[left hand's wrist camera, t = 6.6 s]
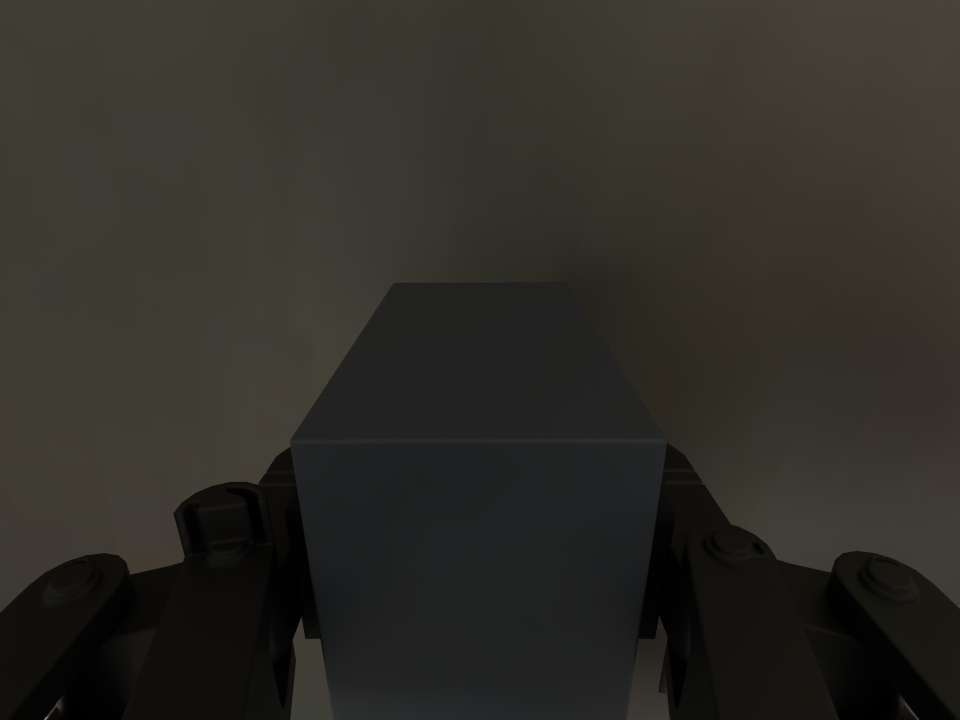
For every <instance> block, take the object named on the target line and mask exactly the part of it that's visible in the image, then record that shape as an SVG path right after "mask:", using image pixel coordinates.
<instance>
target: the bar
mask: <svg viewBox="0 0 960 720" xmlns="http://www.w3.org/2000/svg"><path fill="white" fill-rule="evenodd" d="M290 446H291V452H292V459H293V465H294V472H295V478H296V484H297V491H298V497H299V504H300V510H301V516H302V523H303V529H304V536H305V542H306V548H307V555H308V561H309V568H310V574H311V581H312V587H313V593H314V600H315V606H316V613H317V619H318V625H319V632H320V638H321V645H322V651H323V657H324V664H325V670H326V677H327V683H328V690H329V696H330V702H331V709H332V715H333V720H626V718H627V711H628V704H629V697H630V691H631V684H632V677H633V670H634V664H635V657H636V650H637V643H638V637H639V630H640V623H641V616H642V609H643V603H644V596H645V589H646V582H647V576H648V569H649V562H650V555H651V549H652V542H653V535H654V528H655V522H656V515H657V508H658V501H659V494H660V488H661V481H662V474H663V467H664V461H665V454H666V447H667V439H666V437H665V436H664V434H663V433H662V431H661V430H660V428H659V427H658V425H657V423H656V422H655V420H654V419H653V417H652V416H651V414H650V413H649V411H648V410H647V408H646V406H645V405H644V403H643V402H642V400H641V399H640V397H639V396H638V394H637V393H636V391H635V389H634V388H633V386H632V385H631V383H630V382H629V380H628V379H627V377H626V375H625V374H624V372H623V371H622V369H621V368H620V366H619V365H618V363H617V362H616V360H615V358H614V357H613V355H612V354H611V352H610V351H609V349H608V348H607V346H606V345H605V343H604V341H603V340H602V338H601V337H600V335H599V334H598V332H597V331H596V329H595V327H594V326H593V324H592V323H591V321H590V320H589V318H588V317H587V315H586V314H585V312H584V310H583V309H582V307H581V306H580V304H579V303H578V301H577V300H576V298H575V297H574V295H573V293H572V292H571V290H570V289H569V287H568V286H567V284H566V283H394V284H393V285H392V287H391V288H390V290H389V291H388V293H387V294H386V296H385V297H384V299H383V300H382V302H381V303H380V305H379V306H378V308H377V309H376V311H375V312H374V314H373V315H372V317H371V319H370V320H369V322H368V323H367V325H366V326H365V328H364V329H363V331H362V332H361V334H360V335H359V337H358V338H357V340H356V341H355V343H354V344H353V346H352V347H351V349H350V350H349V352H348V353H347V355H346V356H345V358H344V359H343V361H342V363H341V364H340V366H339V367H338V369H337V370H336V372H335V373H334V375H333V376H332V378H331V379H330V381H329V382H328V384H327V385H326V387H325V388H324V390H323V391H322V393H321V394H320V396H319V397H318V399H317V400H316V402H315V403H314V405H313V407H312V408H311V410H310V411H309V413H308V414H307V416H306V417H305V419H304V420H303V422H302V423H301V425H300V426H299V428H298V429H297V431H296V432H295V434H294V435H293V437H292V438H291V441H290Z"/></svg>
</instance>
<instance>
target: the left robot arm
mask: <svg viewBox="0 0 960 720" xmlns="http://www.w3.org/2000/svg"><path fill="white" fill-rule="evenodd" d="M174 517H175V521H176V524H177V528H178V532H179V536H180V540H181V543H182V547H183V551H184V555H185V558H184V561H183V562H181V563H178V564H175V565H171V566H167V567H163V568H158V569H154V570H149V571H145V572H140V573H136V574H132V575H130V573H129V570H128V566H127V563H126V562H125V561H124V560H123V559H122V558H121V557H119V556H118V555H112V554H106V553H102V554H94V555H86V556H83V557H80V558H77V559H73V560H70V561H67V562H65V563H63V564H61V565H59V566H57V567H55V568H53V569H51V570H49V571H47V572H46V573H44V574H43V575H42V576H40V577H39V578H38V579H36V580H35V581H34V582H33V583H31V584H30V585H29V586H28V587H27V588H26V589H25V590H24V591H22V592H21V593H20V594H19V595H18V596H17V597H16V598H15V599H14V600H13V601H12V602H11V603H10V604H9V605H8V606H7V607H6V608H5V609H4V610H3V611H2V612H1V613H0V720H44V719H45V718H46V716H47V715H48V714H49V712H50V711H51V710H52V708H53V707H54V706H55V705H57V707H56V709H55V710H54V711H53V712H52V714H51V715H50V716H49V718H47V719H46V720H290V716H291V706H292V696H293V685H294V675H295V664H296V658H295V651H294V645H293V637H294V635H295V632H296V629H297V627H298V624H299V622H300V619H301V616H302V622H303V628H304V633H305V639H321V638H320V632H319V625H318V619H317V613H316V606H315V600H314V593H313V587H312V581H311V574H310V568H309V561H308V555H307V548H306V542H305V536H304V529H303V523H302V516H301V510H300V504H299V497H298V491H297V484H296V478H295V472H294V465H293V459H292V452H291V447H289V448H288V449H286V450H285V451H284V452H282V453H281V454H279V455H278V456H276V458H275V459H274V461H273V462H272V464H271V465H270V467H269V468H268V470H267V474H264V476H263V477H262V479H261V480H260V482H259V485H256V484H252V483H248V482H228V483H224V484H219V485H215V486H211V487H209V488H206V489H204V490H202V491H199V492H197V493H195V494H194V495H192V496H191V497H189V498H188V499H186V500H185V501H184V502H182V503H181V504H180V506H179V507H178V508H177V510H176V511H175V512H174ZM659 615H660V618H661V621H662V623H663V626H664V628H665V631H666V634H667V636H668V640H667V645H666V651H665V657H664V662H663V668H662V673H661V679H660V685H659V692H661V693H665V692H666V687H667V694H668V705H669V715H670V720H916V718H915V717H914V716H913V715H912V714H911V713H910V711H909V710H908V709H907V708H906V706H905V705H904V704H905V702H906V703H907V704H908V705H909V707H910V708H911V709H912V711H913V712H914V713H915V714H916V716H917V717H918V718H919V720H960V609H959V608H958V607H957V606H956V605H955V604H954V603H953V602H952V601H951V600H950V599H949V598H948V597H947V596H946V595H945V594H943V593H942V592H941V591H940V590H939V589H938V588H937V587H936V586H935V585H934V584H933V583H932V582H930V581H929V580H928V579H927V578H925V577H924V576H923V575H921V574H920V573H919V572H917V571H916V570H914V569H912V568H910V567H908V566H907V565H905V564H903V563H901V562H899V561H897V560H894V559H892V558H889V557H885V556H882V555H879V554H876V553H869V552H861V551H854V552H848V553H843V554H842V555H840V556H839V557H838V558H837V559H836V560H835V562H834V565H833V568H832V571H831V573H830V572H825V571H821V570H816V569H812V568H807V567H803V566H798V565H794V564H790V563H787V562H783V561H780V560H777V559H776V557H775V555H774V554H773V552H772V551H771V549H770V548H769V546H768V545H767V544H766V543H765V542H763V541H762V540H761V539H760V538H758V537H757V536H756V535H755V534H753V533H750V532H748V531H746V530H744V529H742V528H740V527H737V526H733V525H731V524H730V522H729V521H728V519H727V518H726V517H725V515H724V514H723V512H722V511H721V509H720V508H719V506H718V505H717V503H716V502H715V500H714V499H713V497H712V496H711V494H710V493H709V491H708V490H707V488H706V487H705V485H702V481H701V479H700V478H699V476H698V475H697V473H696V472H694V469H693V467H692V466H691V464H690V463H689V461H688V460H687V458H686V457H685V455H684V454H682V453H681V452H679V451H678V450H677V449H675V448H674V447H672V446H671V445H670V444H668V443H667V447H666V454H665V461H664V467H663V474H662V481H661V488H660V494H659V501H658V508H657V515H656V522H655V528H654V535H653V542H652V549H651V555H650V562H649V569H648V576H647V582H646V589H645V596H644V603H643V609H642V616H641V623H640V630H639V637H638V639H655V636H656V630H657V624H658V618H659Z"/></svg>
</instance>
